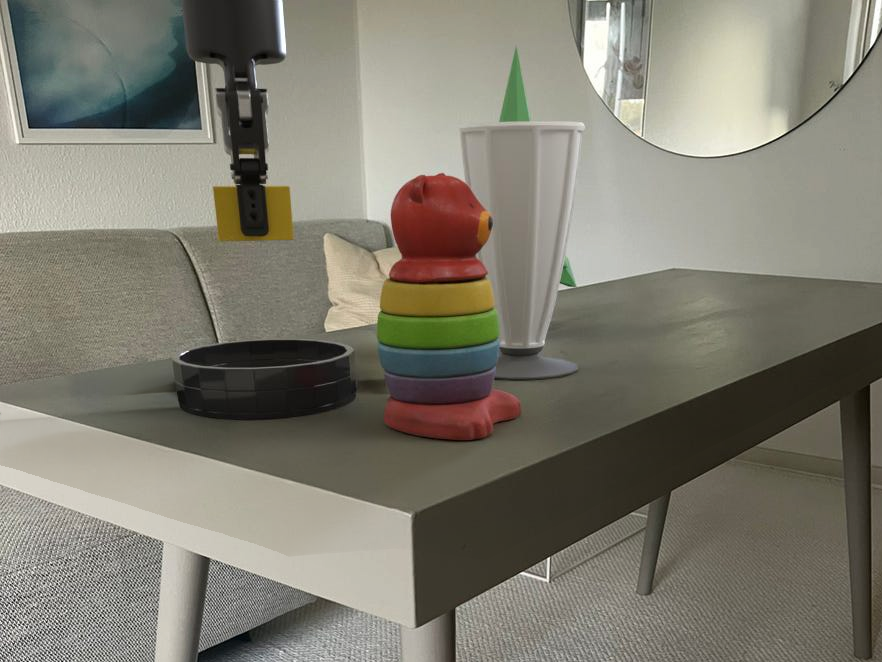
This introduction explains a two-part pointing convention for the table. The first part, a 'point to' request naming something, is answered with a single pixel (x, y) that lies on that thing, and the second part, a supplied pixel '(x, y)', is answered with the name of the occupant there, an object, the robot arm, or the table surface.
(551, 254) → the cup
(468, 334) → the stacking bear
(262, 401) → the bowl
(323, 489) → the table surface
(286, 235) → the sponge
